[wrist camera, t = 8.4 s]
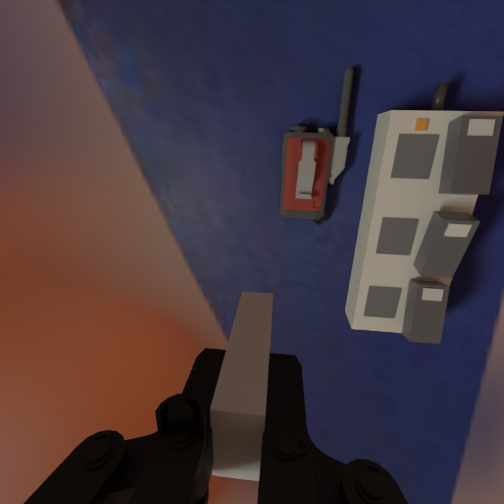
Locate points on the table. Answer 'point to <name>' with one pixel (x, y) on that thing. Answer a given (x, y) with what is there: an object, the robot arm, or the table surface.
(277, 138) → the table surface
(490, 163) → the block
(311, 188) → the walkie-talkie
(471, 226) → the rocker
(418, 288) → the rocker
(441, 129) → the power strip
